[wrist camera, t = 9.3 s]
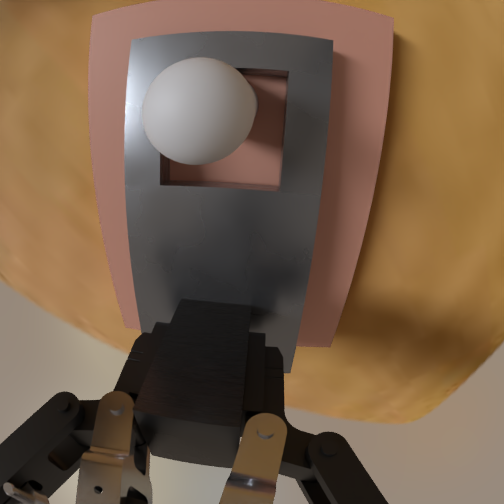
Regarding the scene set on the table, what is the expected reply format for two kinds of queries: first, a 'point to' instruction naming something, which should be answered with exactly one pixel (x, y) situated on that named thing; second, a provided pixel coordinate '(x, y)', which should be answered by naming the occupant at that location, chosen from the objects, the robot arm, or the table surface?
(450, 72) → the table surface
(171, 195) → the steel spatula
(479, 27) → the table surface
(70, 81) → the table surface
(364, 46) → the pink board with peg
